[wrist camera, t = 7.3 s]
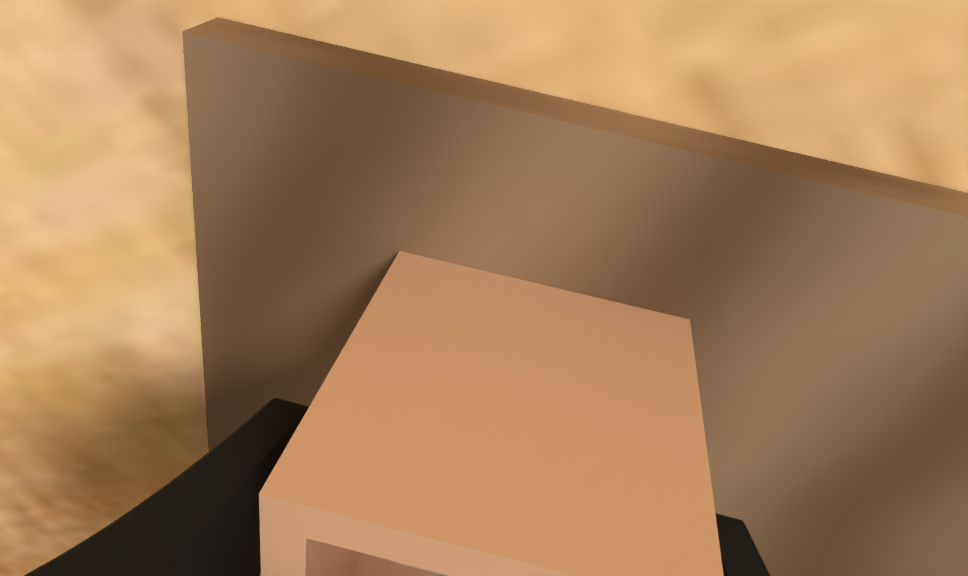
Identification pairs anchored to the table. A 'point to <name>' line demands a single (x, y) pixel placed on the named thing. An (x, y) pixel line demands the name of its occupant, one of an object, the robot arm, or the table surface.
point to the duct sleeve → (497, 439)
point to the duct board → (601, 274)
